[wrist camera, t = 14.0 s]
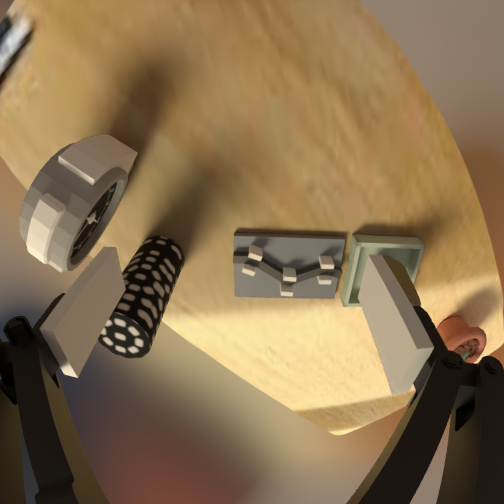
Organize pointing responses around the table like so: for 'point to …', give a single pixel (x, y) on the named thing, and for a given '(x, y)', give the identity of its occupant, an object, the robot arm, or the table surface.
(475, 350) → the decorative flower
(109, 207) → the alarm clock
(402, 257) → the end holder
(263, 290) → the grey peg board
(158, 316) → the white-spotted black cylinder
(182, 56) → the table surface
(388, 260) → the squeeze bottle
